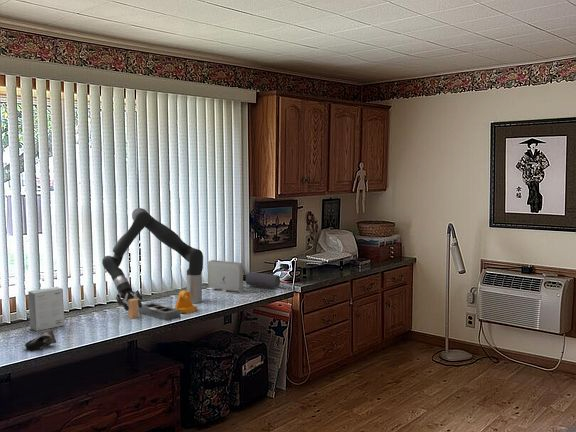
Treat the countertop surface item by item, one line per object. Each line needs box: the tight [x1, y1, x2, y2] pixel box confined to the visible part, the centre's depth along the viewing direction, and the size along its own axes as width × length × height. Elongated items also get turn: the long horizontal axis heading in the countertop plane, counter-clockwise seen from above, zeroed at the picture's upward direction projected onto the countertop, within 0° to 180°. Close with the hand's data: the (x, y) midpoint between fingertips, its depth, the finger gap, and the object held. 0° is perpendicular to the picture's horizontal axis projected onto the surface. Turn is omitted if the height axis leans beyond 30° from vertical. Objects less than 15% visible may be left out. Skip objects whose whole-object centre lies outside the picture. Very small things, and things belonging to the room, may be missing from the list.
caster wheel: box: [24, 329, 57, 351], centre depth 279 cm, size 7×11×10 cm
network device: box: [207, 259, 244, 295], centre depth 399 cm, size 26×9×20 cm, turn 62°
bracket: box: [174, 290, 198, 314], centre depth 346 cm, size 11×7×12 cm, turn 134°
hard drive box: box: [27, 286, 65, 332], centre depth 313 cm, size 16×8×20 cm, turn 135°
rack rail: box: [138, 302, 181, 322], centre depth 339 cm, size 26×10×4 cm, turn 48°
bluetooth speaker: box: [245, 272, 281, 290], centre depth 411 cm, size 23×9×10 cm, turn 66°
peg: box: [127, 299, 139, 319], centre depth 334 cm, size 4×4×10 cm
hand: (134, 308), depth 333 cm, fingers open, 8 cm apart
